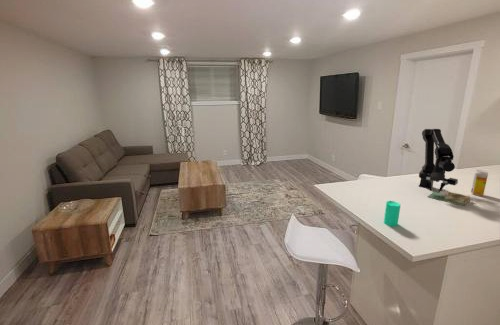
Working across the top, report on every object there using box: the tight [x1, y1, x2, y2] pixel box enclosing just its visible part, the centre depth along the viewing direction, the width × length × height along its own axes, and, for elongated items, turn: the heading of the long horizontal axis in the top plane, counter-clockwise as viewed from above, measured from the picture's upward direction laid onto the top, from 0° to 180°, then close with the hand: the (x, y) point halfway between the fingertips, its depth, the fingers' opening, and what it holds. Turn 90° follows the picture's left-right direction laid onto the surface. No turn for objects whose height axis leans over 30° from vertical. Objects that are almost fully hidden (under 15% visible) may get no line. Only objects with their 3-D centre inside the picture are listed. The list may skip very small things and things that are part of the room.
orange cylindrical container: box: [470, 169, 489, 197], centre depth 163 cm, size 6×6×15 cm
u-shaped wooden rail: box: [445, 191, 471, 205], centre depth 155 cm, size 10×9×2 cm
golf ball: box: [438, 189, 449, 197], centre depth 160 cm, size 4×4×4 cm
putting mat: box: [427, 190, 471, 207], centre depth 159 cm, size 18×14×1 cm
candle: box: [383, 200, 402, 227], centre depth 127 cm, size 6×6×12 cm
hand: (435, 191), depth 163 cm, fingers open, 4 cm apart
